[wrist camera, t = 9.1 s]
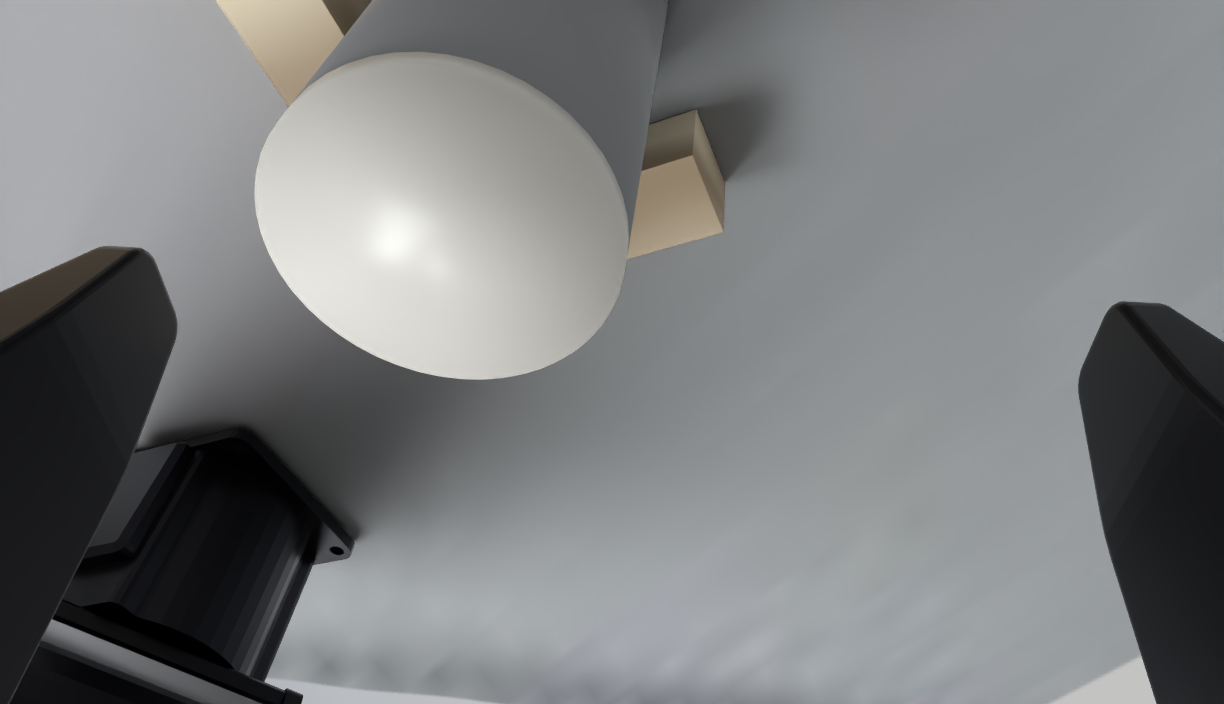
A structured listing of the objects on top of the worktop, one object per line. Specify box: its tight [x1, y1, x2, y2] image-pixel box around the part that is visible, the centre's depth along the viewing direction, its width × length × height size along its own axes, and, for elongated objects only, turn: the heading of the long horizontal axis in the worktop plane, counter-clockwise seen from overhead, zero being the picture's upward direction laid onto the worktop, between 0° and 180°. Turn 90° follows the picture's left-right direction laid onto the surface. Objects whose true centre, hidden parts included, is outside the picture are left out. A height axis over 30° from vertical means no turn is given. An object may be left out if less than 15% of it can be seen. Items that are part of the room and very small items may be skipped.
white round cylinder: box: [254, 0, 668, 380], centre depth 16 cm, size 5×5×9 cm
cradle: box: [216, 0, 725, 259], centre depth 19 cm, size 11×8×2 cm
